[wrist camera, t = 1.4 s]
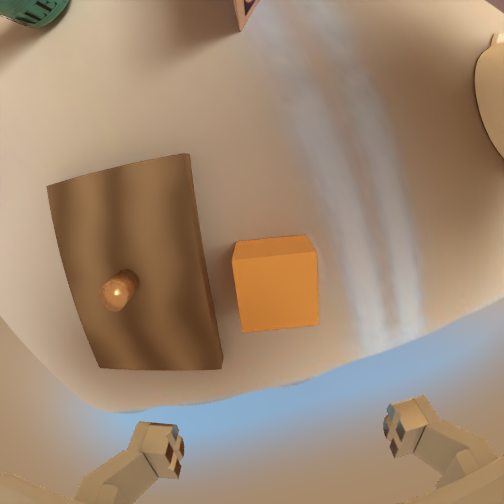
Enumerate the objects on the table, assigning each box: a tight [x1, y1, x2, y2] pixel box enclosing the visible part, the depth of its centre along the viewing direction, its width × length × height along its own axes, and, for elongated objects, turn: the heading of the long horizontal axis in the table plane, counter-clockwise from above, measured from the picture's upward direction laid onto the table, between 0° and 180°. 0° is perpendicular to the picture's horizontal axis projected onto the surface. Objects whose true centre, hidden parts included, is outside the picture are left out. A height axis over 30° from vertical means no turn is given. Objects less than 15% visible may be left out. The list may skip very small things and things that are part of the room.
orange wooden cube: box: [232, 235, 319, 333], centre depth 25 cm, size 6×6×5 cm
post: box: [99, 269, 140, 311], centre depth 24 cm, size 2×2×4 cm
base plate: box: [47, 154, 223, 370], centre depth 26 cm, size 14×20×2 cm
